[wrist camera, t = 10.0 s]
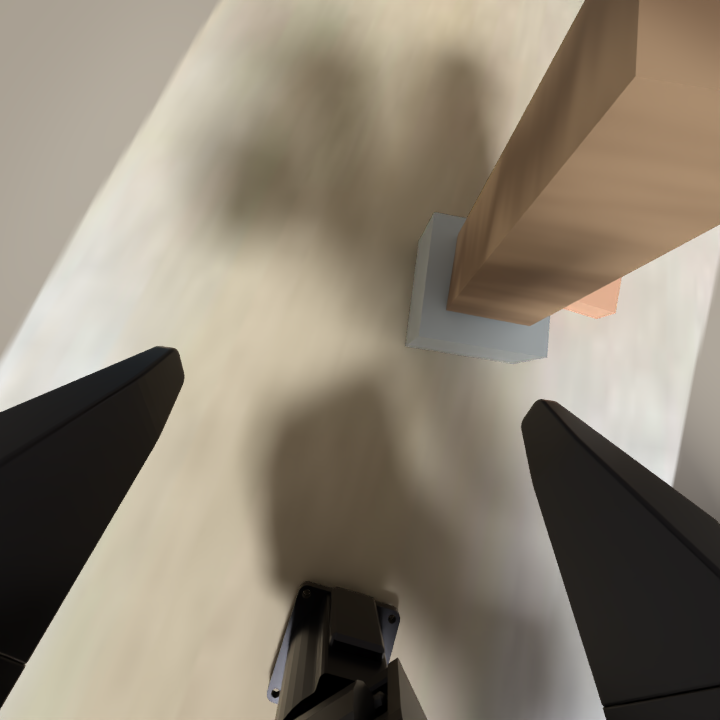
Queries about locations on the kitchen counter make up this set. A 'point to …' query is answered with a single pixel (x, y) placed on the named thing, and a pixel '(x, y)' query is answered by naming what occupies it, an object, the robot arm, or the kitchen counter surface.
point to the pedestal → (459, 330)
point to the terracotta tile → (598, 301)
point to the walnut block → (599, 163)
